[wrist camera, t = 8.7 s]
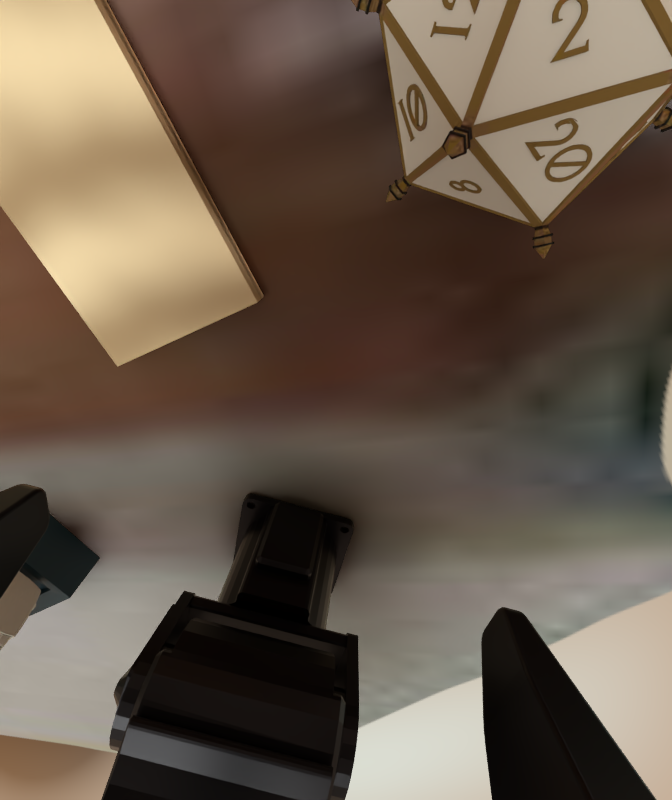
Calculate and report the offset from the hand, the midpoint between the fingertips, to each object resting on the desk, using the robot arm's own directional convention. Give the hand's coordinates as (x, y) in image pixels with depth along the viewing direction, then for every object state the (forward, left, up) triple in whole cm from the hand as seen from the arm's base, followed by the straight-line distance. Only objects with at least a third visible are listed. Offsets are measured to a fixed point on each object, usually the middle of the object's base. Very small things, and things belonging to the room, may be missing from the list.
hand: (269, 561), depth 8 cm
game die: (+10, -3, -13) cm, 17 cm away
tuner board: (+5, +12, -13) cm, 19 cm away
